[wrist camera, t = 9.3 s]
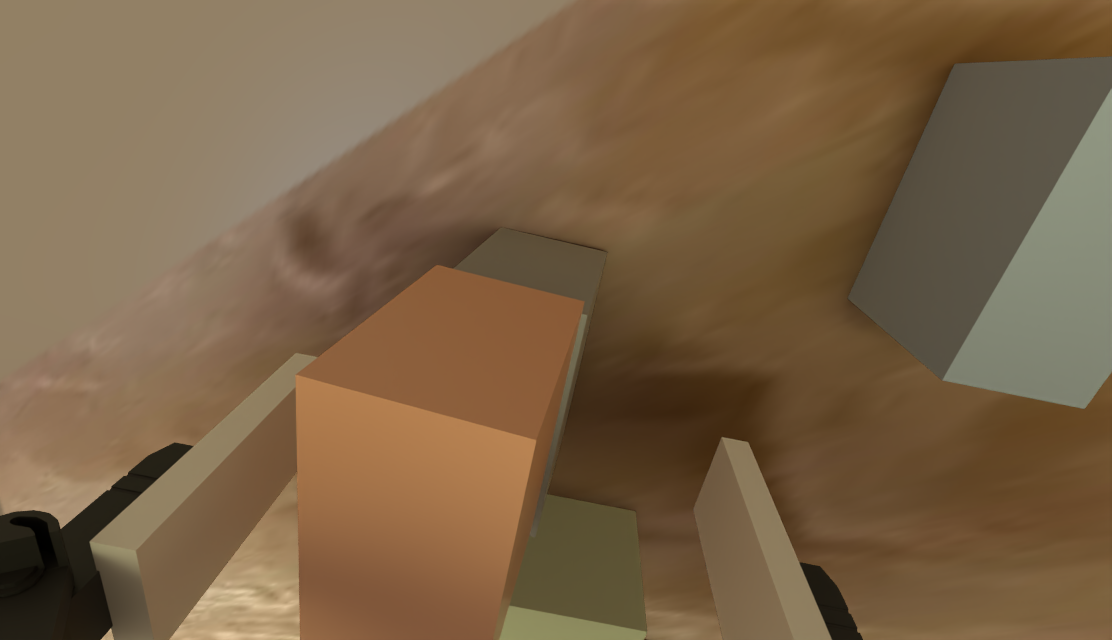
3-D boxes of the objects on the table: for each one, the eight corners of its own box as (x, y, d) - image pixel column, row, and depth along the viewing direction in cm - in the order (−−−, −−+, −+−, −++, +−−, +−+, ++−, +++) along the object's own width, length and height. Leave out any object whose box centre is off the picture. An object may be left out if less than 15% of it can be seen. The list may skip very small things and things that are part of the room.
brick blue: (950, 318, 20) (1084, 409, 14) (846, 297, 20) (942, 380, 14) (1077, 90, 17) (1314, 95, 11) (953, 63, 16) (1130, 55, 11)
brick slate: (564, 430, 22) (535, 537, 17) (474, 406, 23) (417, 503, 17) (607, 252, 19) (587, 315, 14) (501, 227, 19) (440, 279, 14)
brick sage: (635, 510, 25) (647, 632, 19) (615, 569, 26) (620, 697, 21) (466, 477, 25) (430, 590, 19) (457, 539, 26) (421, 659, 21)
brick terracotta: (531, 528, 17) (472, 733, 11) (413, 494, 17) (300, 678, 12) (584, 301, 14) (536, 440, 8) (436, 265, 14) (295, 374, 8)
